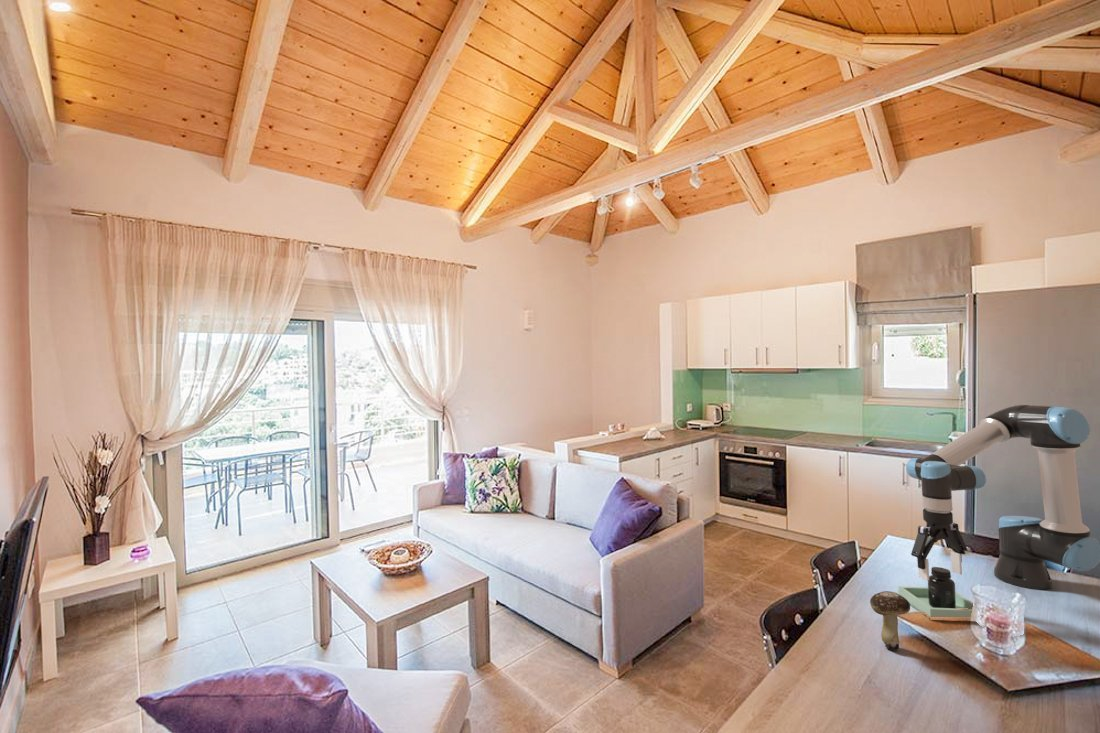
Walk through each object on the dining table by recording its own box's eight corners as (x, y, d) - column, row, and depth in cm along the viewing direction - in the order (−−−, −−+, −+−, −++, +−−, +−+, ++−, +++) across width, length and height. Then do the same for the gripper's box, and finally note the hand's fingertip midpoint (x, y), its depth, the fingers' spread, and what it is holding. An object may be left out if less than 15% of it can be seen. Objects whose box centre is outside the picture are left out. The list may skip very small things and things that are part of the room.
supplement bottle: (923, 602, 158) (922, 565, 158) (944, 602, 158) (943, 565, 158) (939, 612, 151) (938, 574, 151) (961, 612, 151) (960, 574, 151)
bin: (949, 598, 162) (948, 588, 162) (987, 622, 146) (986, 611, 146) (898, 596, 164) (898, 586, 164) (930, 620, 148) (930, 609, 148)
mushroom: (905, 643, 136) (903, 589, 136) (917, 660, 128) (915, 603, 128) (866, 637, 139) (865, 585, 139) (875, 654, 131) (874, 598, 131)
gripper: (954, 503, 162) (957, 566, 162) (895, 510, 156) (899, 576, 156) (979, 509, 155) (982, 575, 155) (918, 517, 149) (921, 585, 149)
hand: (940, 575), depth 155 cm, fingers open, 13 cm apart
